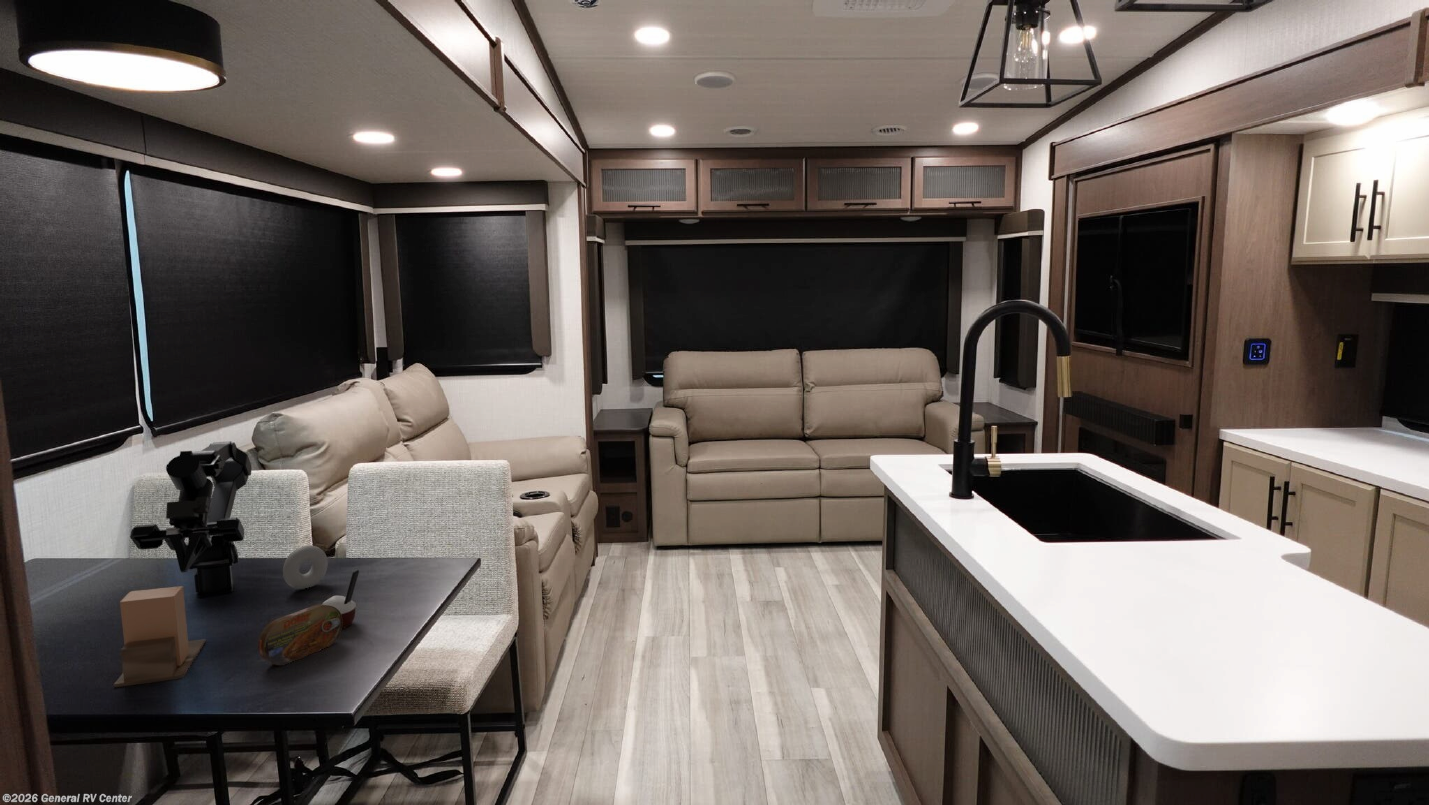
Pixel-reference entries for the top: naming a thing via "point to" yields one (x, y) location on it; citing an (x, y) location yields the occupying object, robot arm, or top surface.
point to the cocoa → (345, 602)
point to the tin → (300, 634)
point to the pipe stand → (154, 661)
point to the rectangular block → (156, 617)
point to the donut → (294, 563)
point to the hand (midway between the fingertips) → (183, 571)
